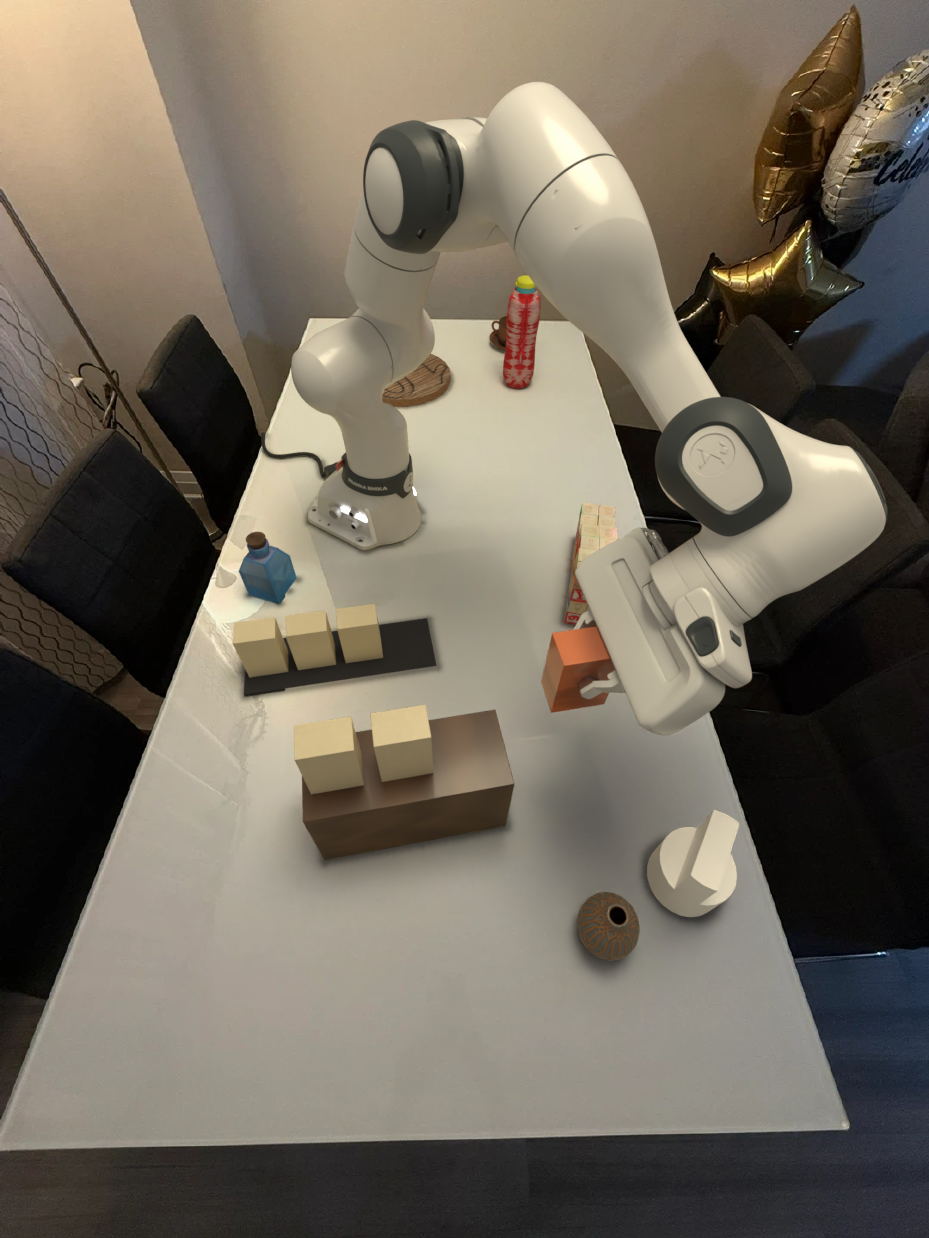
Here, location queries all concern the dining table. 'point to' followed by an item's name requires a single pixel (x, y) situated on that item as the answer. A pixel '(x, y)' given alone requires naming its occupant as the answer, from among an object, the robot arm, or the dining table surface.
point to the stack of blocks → (588, 551)
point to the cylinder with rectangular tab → (695, 866)
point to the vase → (608, 926)
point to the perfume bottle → (266, 569)
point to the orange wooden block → (574, 668)
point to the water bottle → (521, 333)
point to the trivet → (419, 384)
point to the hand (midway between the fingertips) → (573, 670)
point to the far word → (328, 648)
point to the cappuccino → (499, 333)
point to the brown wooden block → (401, 779)
